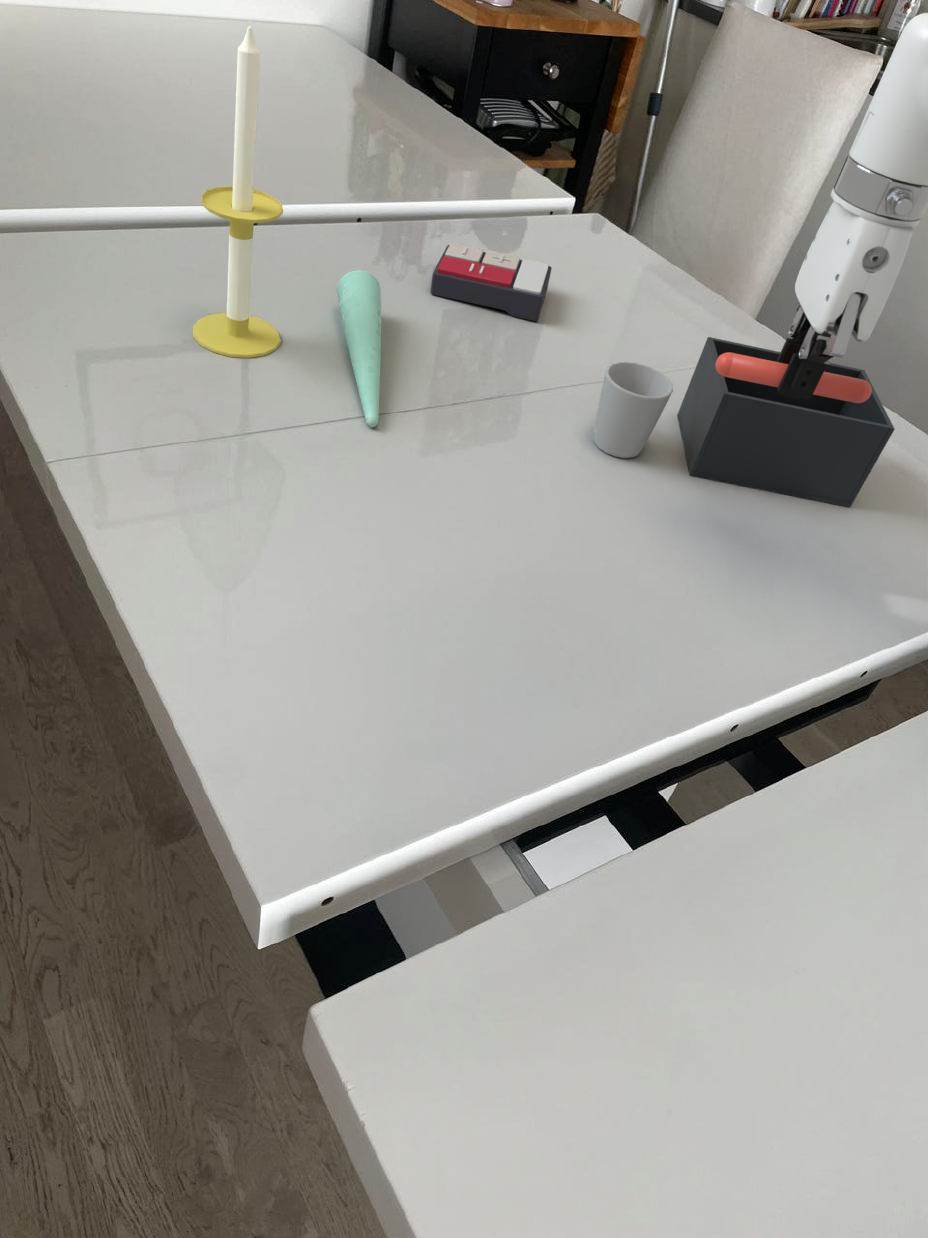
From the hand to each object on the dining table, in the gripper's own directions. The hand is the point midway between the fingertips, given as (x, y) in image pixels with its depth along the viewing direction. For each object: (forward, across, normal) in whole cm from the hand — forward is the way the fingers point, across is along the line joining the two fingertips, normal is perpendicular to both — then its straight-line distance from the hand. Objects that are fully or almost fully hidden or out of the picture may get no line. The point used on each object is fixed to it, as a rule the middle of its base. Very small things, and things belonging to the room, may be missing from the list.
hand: (790, 386), depth 93 cm
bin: (+17, +16, -7) cm, 25 cm away
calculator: (+17, +46, +26) cm, 56 cm away
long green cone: (+17, +20, +41) cm, 48 cm away
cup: (+17, +14, +11) cm, 25 cm away
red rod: (0, 0, 0) cm, 0 cm away
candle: (+18, +21, +56) cm, 62 cm away
